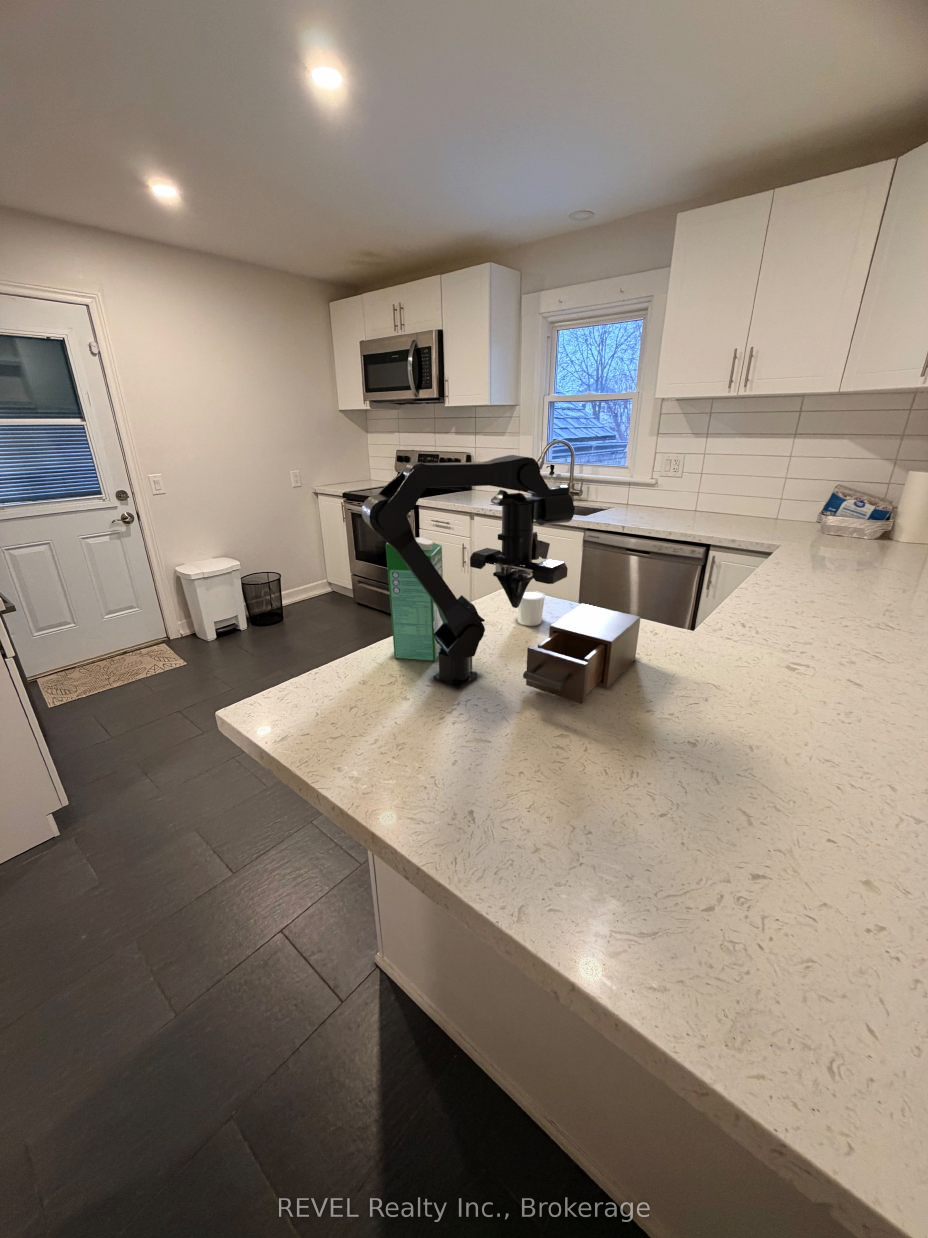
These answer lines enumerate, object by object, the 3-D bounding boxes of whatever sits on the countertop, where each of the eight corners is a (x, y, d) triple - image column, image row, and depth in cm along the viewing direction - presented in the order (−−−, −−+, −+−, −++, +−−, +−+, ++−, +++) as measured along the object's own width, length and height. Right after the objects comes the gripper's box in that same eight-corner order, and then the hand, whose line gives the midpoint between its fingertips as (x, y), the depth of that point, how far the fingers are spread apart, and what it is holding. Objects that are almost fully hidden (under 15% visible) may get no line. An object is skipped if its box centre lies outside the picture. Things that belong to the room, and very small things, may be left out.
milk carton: (435, 661, 104) (430, 544, 94) (394, 657, 105) (385, 542, 96) (445, 643, 112) (441, 533, 102) (407, 640, 113) (399, 532, 104)
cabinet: (606, 688, 92) (612, 641, 89) (547, 669, 100) (549, 625, 96) (635, 659, 103) (640, 616, 99) (579, 643, 110) (582, 603, 106)
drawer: (569, 718, 82) (572, 676, 79) (511, 696, 89) (512, 657, 86) (613, 674, 95) (617, 637, 92) (560, 658, 102) (562, 623, 99)
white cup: (542, 616, 125) (544, 590, 123) (544, 627, 119) (545, 599, 116) (515, 615, 126) (516, 589, 123) (515, 626, 120) (516, 599, 117)
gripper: (584, 526, 90) (578, 605, 96) (501, 515, 102) (501, 587, 108) (553, 537, 83) (549, 623, 89) (467, 524, 94) (468, 601, 100)
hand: (515, 607), depth 96 cm, fingers closed
